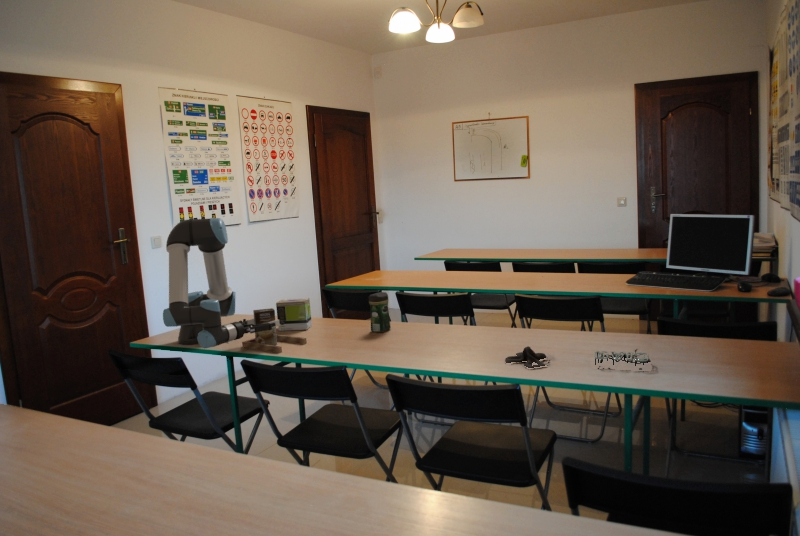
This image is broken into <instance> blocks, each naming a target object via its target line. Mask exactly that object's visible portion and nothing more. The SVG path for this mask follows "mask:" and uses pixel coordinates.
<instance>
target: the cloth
mask: <svg viewBox="0 0 800 536" xmlns="http://www.w3.org/2000/svg"><path fill="white" fill-rule="evenodd" d="M515 354H516V355H517V356H515V355H510V356H507V357H505V359H504V363H505V362H506V363H511V362H522V361H527V362H526V363H523V367H524V366H526V367H528V368H534V367H540V366H545V365H547V363H544V362H540V361H539V360H540V359H544V358H546V357H547V356H546V353H544V352H535V351H534V350H533V349H532V348H531V346H526V347H524V348H523V350H522V351H521V352H517V353H515ZM533 362H535V363H537V364H538V365H533V366H532V363H533ZM506 363H505V364H506Z"/></svg>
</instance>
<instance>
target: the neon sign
mask: <svg viewBox="0 0 800 536" xmlns="http://www.w3.org/2000/svg"><path fill="white" fill-rule="evenodd" d="M633 354H634V352H633V351H632V352H630V351H627V352H624V351H620V352H617V353H616V352H615V351H610V354H609V351H605V350H603V351H601V352H600V351H599V350H597V351H594V357H595V365H596V359H598V363H599V359H601V360H600V363H602V362H603V359H607V361H608V358H609V359H612V360H613V365H614V360H615V361H616V362H619V361H620V360H622V358H623V357H624V360H622V361H625V362H627V363H628V362H630V363H635V366H636V364H641V363H643V365H644V363H648V362H651V361H652V360H650V354H649V353H646V352H635V354H634V356H633ZM600 355H601V356H600ZM645 355H646V356H645ZM639 356H642V358H640V357H639ZM594 357H593V358H594ZM604 357H606V358H604ZM610 357H612V358H610ZM614 357H616V359H615V358H614ZM619 357H620V359H618V358H619ZM630 357H631V359H628V358H630ZM645 357H646V358H645ZM625 358H627V361H626V360H625ZM633 359H634V360H635V362H633ZM617 360H618V361H617ZM637 362H640V363H637Z"/></svg>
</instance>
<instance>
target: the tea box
mask: <svg viewBox="0 0 800 536" xmlns="http://www.w3.org/2000/svg"><path fill="white" fill-rule="evenodd" d="M275 306H276V316H277V319H276V320H279V323H280V326H277V328H278V332H280V331H281V332H282V331H301V330H302V331H303V330H304V331H306V330H308V329H310V328H311V327H312V324H313V323H312V312H311V301H310V298H309V297H305V298H287V299H284V298H283V299H280V300H279V301H277V302H276V303H275ZM309 327H310V328H309Z"/></svg>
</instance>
